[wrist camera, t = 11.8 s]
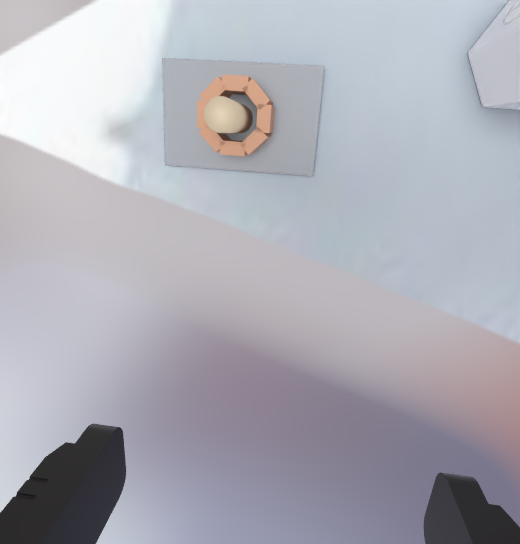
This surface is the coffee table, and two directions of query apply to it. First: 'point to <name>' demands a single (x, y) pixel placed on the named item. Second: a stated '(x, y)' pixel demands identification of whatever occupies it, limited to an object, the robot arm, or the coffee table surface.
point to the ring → (227, 89)
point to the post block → (242, 115)
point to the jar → (499, 60)
